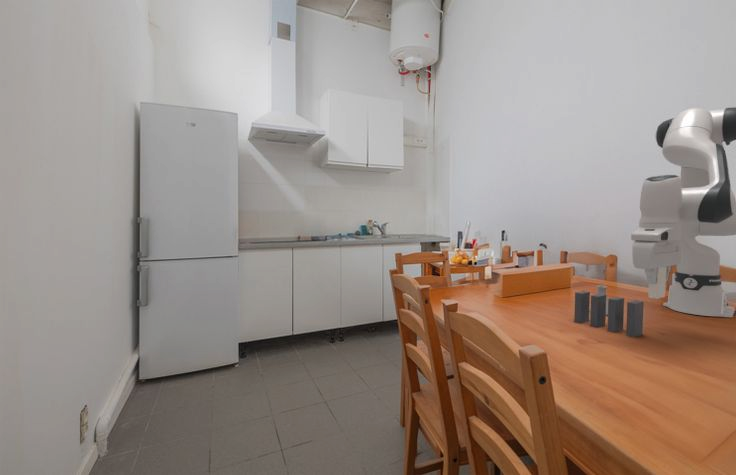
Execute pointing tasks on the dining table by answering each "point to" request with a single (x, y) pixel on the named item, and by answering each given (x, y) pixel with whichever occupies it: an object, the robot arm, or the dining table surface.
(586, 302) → the domino
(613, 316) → the domino
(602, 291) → the flask
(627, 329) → the domino
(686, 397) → the dining table surface
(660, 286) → the domino
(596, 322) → the domino
